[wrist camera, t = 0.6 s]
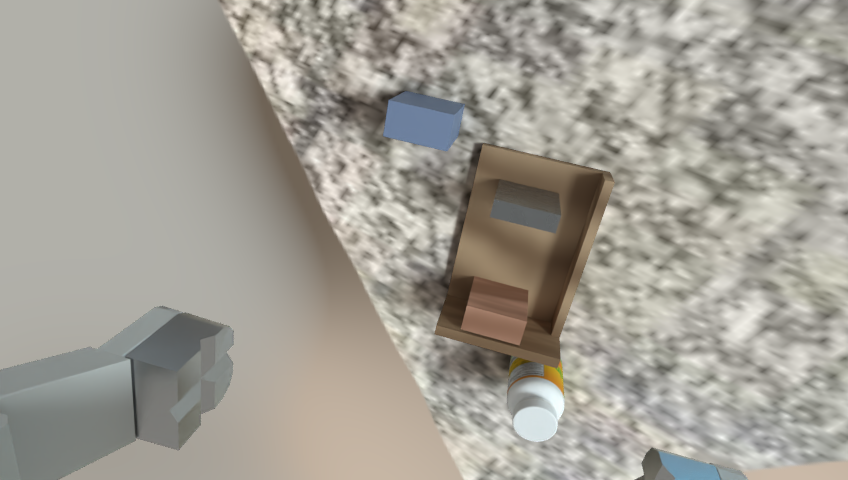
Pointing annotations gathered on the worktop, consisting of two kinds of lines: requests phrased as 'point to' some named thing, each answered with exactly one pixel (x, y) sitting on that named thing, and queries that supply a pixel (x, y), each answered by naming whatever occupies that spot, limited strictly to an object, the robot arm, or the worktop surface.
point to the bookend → (526, 206)
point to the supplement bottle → (535, 398)
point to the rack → (522, 258)
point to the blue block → (423, 120)
